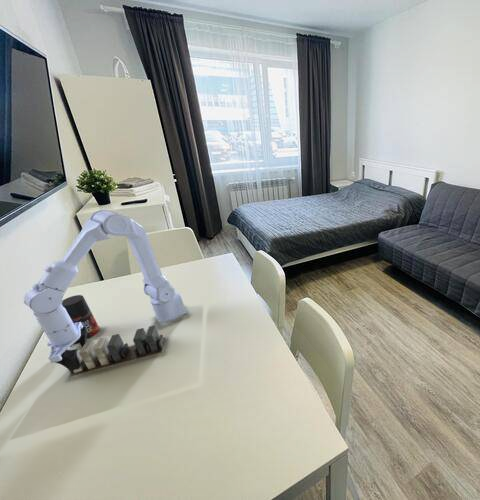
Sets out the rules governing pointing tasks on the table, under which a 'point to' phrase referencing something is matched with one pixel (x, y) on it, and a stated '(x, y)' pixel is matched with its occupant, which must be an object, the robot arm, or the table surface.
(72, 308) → the deodorant
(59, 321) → the robot arm
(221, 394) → the table surface
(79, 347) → the cream book
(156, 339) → the book rack
